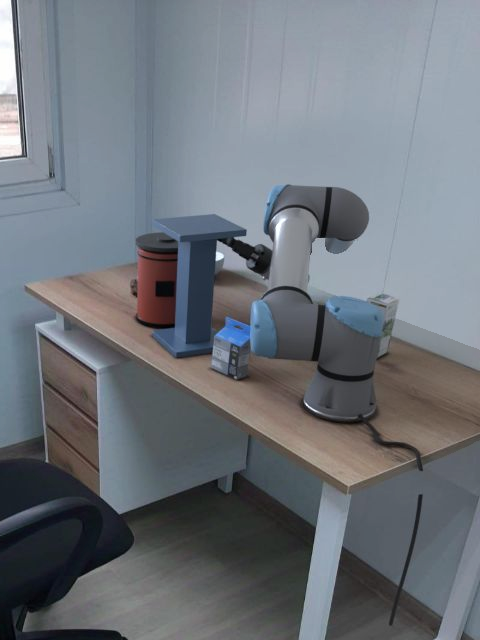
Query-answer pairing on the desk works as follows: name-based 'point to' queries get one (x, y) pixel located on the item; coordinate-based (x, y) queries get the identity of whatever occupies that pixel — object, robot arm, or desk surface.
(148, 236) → the lid
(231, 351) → the label tape box
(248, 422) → the desk surface
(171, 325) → the red banded canister
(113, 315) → the desk surface
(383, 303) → the syrup box
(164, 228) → the stand
